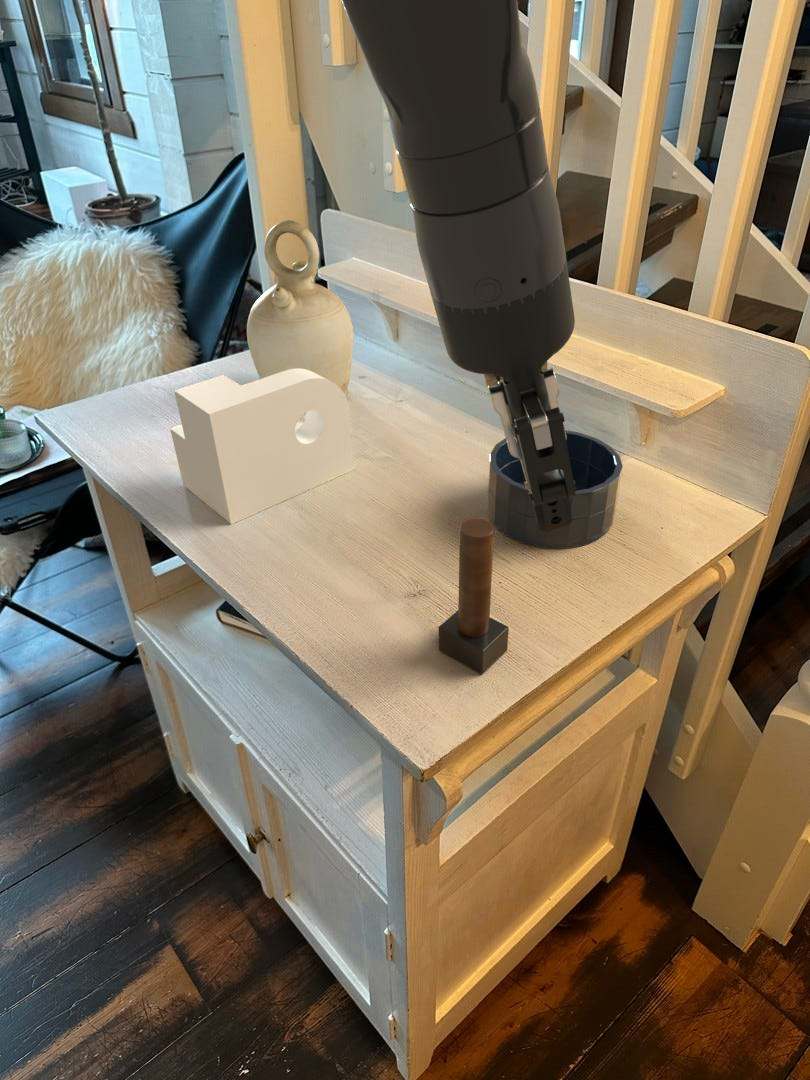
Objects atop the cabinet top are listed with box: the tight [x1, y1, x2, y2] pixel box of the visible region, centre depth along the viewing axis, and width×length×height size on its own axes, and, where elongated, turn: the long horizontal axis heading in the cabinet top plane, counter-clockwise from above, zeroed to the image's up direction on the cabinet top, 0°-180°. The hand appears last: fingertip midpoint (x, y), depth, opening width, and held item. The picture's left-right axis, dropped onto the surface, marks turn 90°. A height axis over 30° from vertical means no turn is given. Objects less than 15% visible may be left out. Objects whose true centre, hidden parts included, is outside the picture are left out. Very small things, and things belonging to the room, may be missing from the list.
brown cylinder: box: [438, 517, 510, 675], centre depth 66 cm, size 5×4×14 cm
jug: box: [246, 219, 355, 397], centre depth 108 cm, size 15×16×25 cm
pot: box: [487, 429, 624, 550], centre depth 86 cm, size 14×14×7 cm
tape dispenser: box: [169, 368, 355, 525], centre depth 92 cm, size 18×12×14 cm, turn 131°
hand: (540, 483), depth 52 cm, fingers open, 8 cm apart
